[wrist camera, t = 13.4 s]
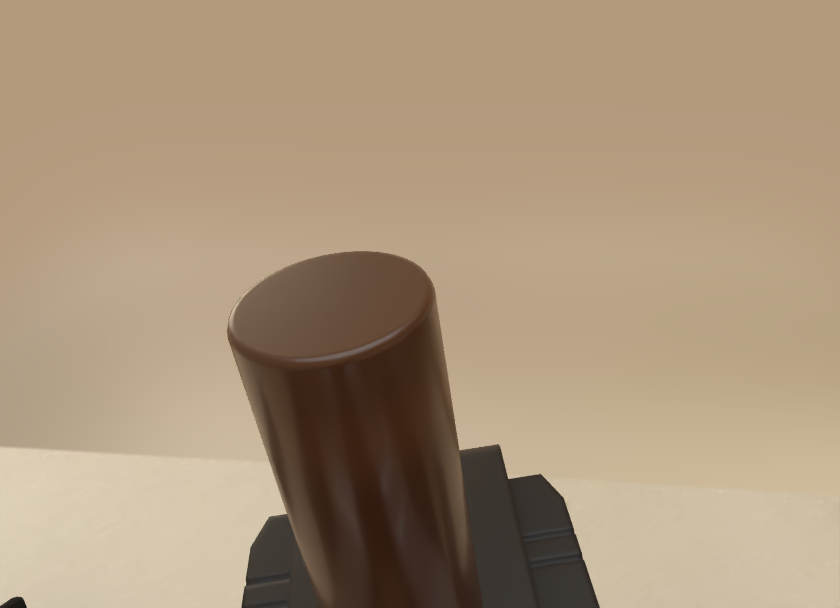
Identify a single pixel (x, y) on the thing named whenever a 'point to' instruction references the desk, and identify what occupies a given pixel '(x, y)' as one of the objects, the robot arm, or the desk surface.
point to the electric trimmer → (14, 603)
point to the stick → (360, 429)
